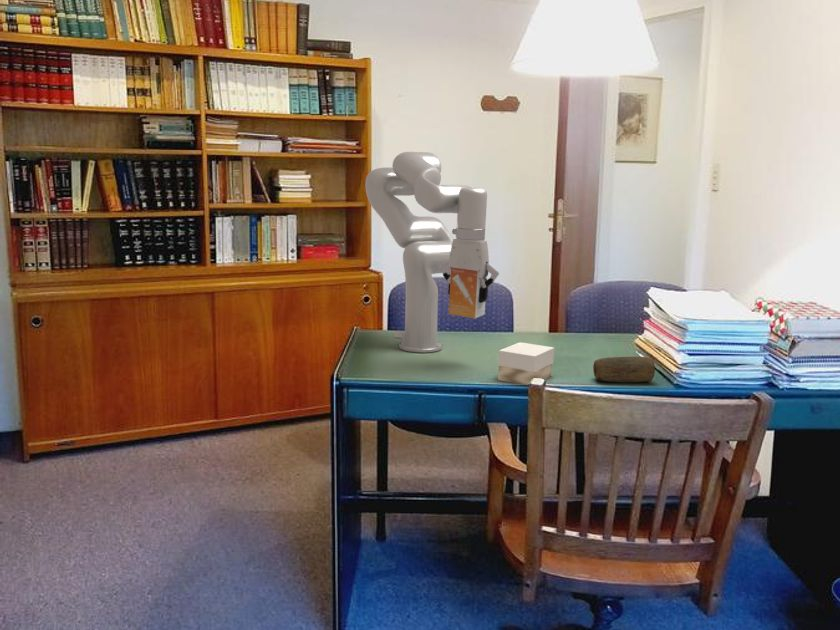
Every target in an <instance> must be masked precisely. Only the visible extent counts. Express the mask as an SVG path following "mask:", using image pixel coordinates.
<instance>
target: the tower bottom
mask: <svg viewBox="0 0 840 630" xmlns="http://www.w3.org/2000/svg"><path fill="white" fill-rule="evenodd" d="M552 369H553V363H552V364H550V365H548V366H546V367H544V368H542V369H540V370H538V371H536V372H531V371H526V370H520V369H514V368H508V367H503V366H498V374H497V376H498V377H497V380H498V381H501V382H502V381H503V382H509V383H514V384H521V385H525V386H526V385H527V386H529V385H528V383H529V382H530V381H531V379H533V378H542V379H545V380H546V379H548V378H549V377H551V376H552V373H553V372H552Z"/></svg>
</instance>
